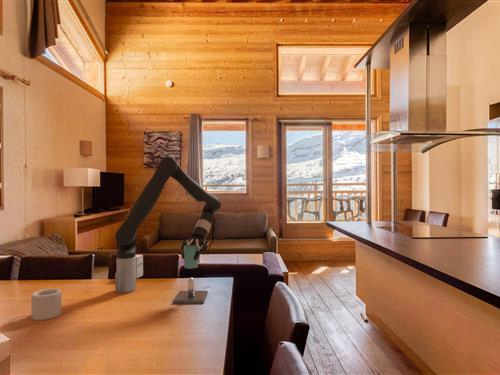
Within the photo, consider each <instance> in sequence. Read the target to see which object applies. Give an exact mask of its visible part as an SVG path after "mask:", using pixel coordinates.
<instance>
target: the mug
mask: <svg viewBox="0 0 500 375" xmlns="http://www.w3.org/2000/svg"><path fill="white" fill-rule="evenodd" d="M30 296H31V297H30V299H31V300H30V301H31V303H30V304H31V305H30V307H31V319H32V320H34V321H46V320H52V319H54V318H57V317H58V316H59V317H60V315H61V314H62V311H63V310H62V290H61V289H60V288H45V289H40V290H37V291H34V292H32V294H31V295H30Z"/></svg>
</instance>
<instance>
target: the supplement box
mask: <svg viewBox="0 0 500 375" xmlns="http://www.w3.org/2000/svg"><path fill="white" fill-rule="evenodd" d="M143 276H144V254H136V280H137V279H138V278H141V277H143Z"/></svg>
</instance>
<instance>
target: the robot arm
mask: <svg viewBox="0 0 500 375" xmlns="http://www.w3.org/2000/svg"><path fill="white" fill-rule="evenodd" d="M170 178H172V179H174V180H175V181H176V182H177V183H178V184H179V185H180V186H181V187H183V189H184V190H185V191H186V192H187V193H188V194H189V195H190V196H191V197H192V198H193V199H194V200H195V201H197V202H198V203H202V202H204V205H203V208H202V212H201V215H200V216H199V219H198V221H197V222H196V224H195V226H194V229H193V231H192V233H191V235H190V238H189V239H186V238H183V241H182V244H181V246H180V249H181V251H182V253H181V255H180V256H181V258H182V260H184V246H186V245H196V246H198V248H197V251H196V253H195V255H194V260H197V259H198V260H199V259H200V258H199V257H200V255H201V254H205V253H206V251H207V249H208V248H209V246H210V242H209V240H208V239H207V238H208V235H209V233H210V230H211V226H212V224H213V222H214V219H215V216H214V215H215V214H216V213H217V212H218V211H219V210H220V209H221V207H222V203H221V200H220V199H219V197H217V196H215V195H213V194H212V193H210V192H209V191H206V190H205V189H204V188H203V187H202V186H201V185H200V184H199V182H197V181H195V180H194V179H193V178H192V177H190V176H189V175H188V174H187V173H186V172H185V170H184V169H182V168H181V166H180V165H179V164H178V161H177V160H176V159H175V158H174V157H172V156H165V157H163V158H162V159H161V160H160V161H159V163H158V165H157V167H156V169H155V171H154V173H153V175H152V177H151V178H150V180H149V181H148V182H147V184H145V187H143V189H142V191H141V192H140V194H139V196H138V197H137V199H136V201H135V202H134V204H133V206H132V207H131V209H130V212H129V214H128V215H127V217H126V218H125V220H124V221H123V222H122V224H121V225H120V226H119V228H117V230H116V231H115V235H114V239H115V242H116V243H117V250H116V272H115V273H114V274H115V275H114V276H115V277H114V278H115V279H114V282H115V283H114V285H115V286H114V290H115V291H114V292H115V293H120V294H125V293H132V292H134V291H136V288H137V283H136V282H137V281H136V280H137V279H136V255H137V254H136V253H137V231H138V229H139V227H140V226H141V223H143V221H144V220H145V219H146V218H147V217H148V215H150V213H151V212H152V210H153V208H154V207H155V205H156V203H157V202H158V201H159V199H160V197H161V194H162V192H163V189H164V186H165V185H166V183H167V182H168V180H169V179H170Z"/></svg>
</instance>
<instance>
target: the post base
mask: <svg viewBox="0 0 500 375" xmlns="http://www.w3.org/2000/svg"><path fill="white" fill-rule="evenodd" d="M208 294H209V291H208V290H195V279H194V278H193V277H189V278H188V279H187V290H179V291H178V293H177V294H176V296H175V297H174V299H173V300H172V302H173V304H175V305H177V304H182V305H184V304H185V305H186V304H189V305H190V304H205V302H206V299H207V297H208ZM173 304H172V305H173Z"/></svg>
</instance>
